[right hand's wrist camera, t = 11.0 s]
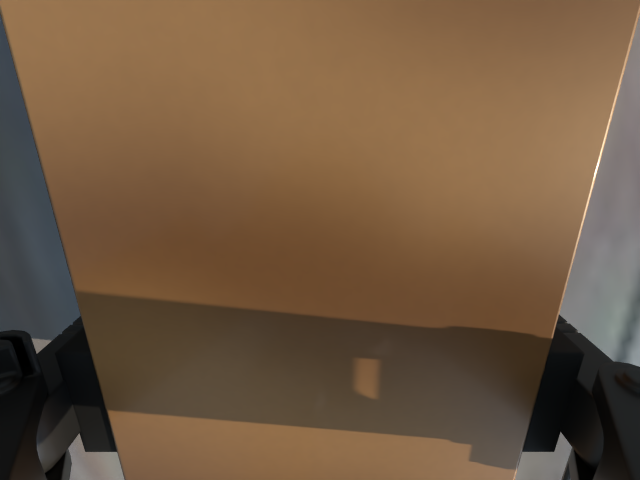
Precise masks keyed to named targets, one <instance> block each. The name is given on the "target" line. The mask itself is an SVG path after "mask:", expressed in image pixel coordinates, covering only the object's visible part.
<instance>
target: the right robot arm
mask: <svg viewBox="0 0 640 480" xmlns="http://www.w3.org/2000/svg"><path fill="white" fill-rule="evenodd" d="M560 431H561V433H562V434H563V435H564V437H565V438H566V439H567V441H568V442H569V443H570V445H571V446H572V450H571V453H570V456H569V459H568V462H567V465H566V468H565V471H564V474H563V477H562V480H640V367H638V366H635V365H632V364H628V363H622V362H613V361H612V360H611V359H610V358H609V357H608V356H606V355H605V354H604V353H603V352H602V351H601V350H600V349H598V348H597V347H596V346H595V345H594V344H593V343H591V342H590V341H589V340H588V339H587V338H586V337H584V336H583V335H582V334H581V333H578V330H576V329H575V328H574V327H573V326H572V325H571V324H567V321H566V320H565V319H564V318H562V317H561V316H560V315H559V316H558V320H557V323H556V327H555V331H554V335H553V338H552V342H551V346H550V350H549V353H548V357H547V361H546V364H545V368H544V372H543V376H542V379H541V383H540V387H539V391H538V394H537V398H536V402H535V405H534V409H533V413H532V417H531V420H530V424H529V428H528V432H527V435H526V439H525V443H524V446H523V450H522V452H554V451H555V447H556V444H557V441H558V438H559V435H560ZM79 433H80V436H81V439H82V442H83V446H84V449H85V452H117V449H116V445H115V441H114V438H113V434H112V430H111V426H110V423H109V419H108V415H107V411H106V408H105V404H104V400H103V396H102V393H101V389H100V385H99V381H98V378H97V374H96V370H95V366H94V363H93V359H92V355H91V351H90V348H89V344H88V340H87V336H86V333H85V329H84V325H83V321H82V318H81V316H80V317H79V318H78V319H77V320H76V321H74V322H73V325H70V326H69V327H68V328H66V329H65V330H64V331H63V332H62V334H59V335H58V336H57V337H56V338H55V339H54V340H53V341H51V342H50V343H49V344H48V345H47V346H46V347H45V348H43V349H42V350H41V351H40V352H39V353H38V354H36V351H35V348H34V345H33V342H32V339H31V336H30V334H28V333H27V332H25V331H18V330H10V331H3V332H0V480H69V479H70V472H71V465H72V462H71V456H70V453H69V450H68V448H69V446H70V445H71V443H72V442H73V441H74V439H75V438H76V437H77V435H78V434H79Z"/></svg>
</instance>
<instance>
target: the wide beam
mask: <svg viewBox="0 0 640 480" xmlns="http://www.w3.org/2000/svg"><path fill="white" fill-rule="evenodd" d="M0 14H1V18H2V21H3V25H4V29H5V33H6V36H7V40H8V44H9V48H10V51H11V55H12V59H13V63H14V66H15V70H16V74H17V78H18V81H19V85H20V89H21V93H22V96H23V100H24V104H25V108H26V111H27V115H28V119H29V123H30V126H31V130H32V134H33V138H34V141H35V145H36V149H37V153H38V156H39V160H40V164H41V168H42V171H43V175H44V179H45V183H46V186H47V190H48V194H49V198H50V201H51V205H52V209H53V213H54V216H55V220H56V224H57V228H58V231H59V235H60V239H61V243H62V246H63V250H64V254H65V258H66V261H67V265H68V269H69V273H70V276H71V280H72V284H73V288H74V291H75V295H76V299H77V303H78V306H79V310H80V314H81V318H82V321H83V325H84V329H85V333H86V336H87V340H88V344H89V348H90V351H91V355H92V359H93V363H94V366H95V370H96V374H97V378H98V381H99V385H100V389H101V393H102V396H103V400H104V404H105V408H106V411H107V415H108V419H109V423H110V426H111V430H112V434H113V438H114V441H115V445H116V449H117V453H118V456H119V460H120V464H121V468H122V471H123V475H124V479H125V480H515V476H516V473H517V469H518V465H519V461H520V458H521V454H522V450H523V446H524V443H525V439H526V435H527V432H528V428H529V424H530V420H531V417H532V413H533V409H534V405H535V402H536V398H537V394H538V391H539V387H540V383H541V379H542V376H543V372H544V368H545V364H546V361H547V357H548V353H549V350H550V346H551V342H552V338H553V335H554V331H555V327H556V323H557V320H558V316H559V312H560V309H561V305H562V301H563V297H564V294H565V290H566V286H567V282H568V279H569V275H570V271H571V268H572V264H573V260H574V256H575V253H576V249H577V245H578V241H579V238H580V234H581V230H582V227H583V223H584V219H585V215H586V212H587V208H588V204H589V200H590V197H591V193H592V189H593V186H594V182H595V178H596V174H597V171H598V167H599V163H600V159H601V156H602V152H603V148H604V145H605V141H606V137H607V133H608V130H609V126H610V122H611V119H612V115H613V111H614V107H615V104H616V100H617V96H618V92H619V89H620V85H621V81H622V78H623V74H624V70H625V66H626V63H627V59H628V55H629V51H630V48H631V44H632V40H633V37H634V33H635V29H636V25H637V22H638V18H639V14H640V0H0Z"/></svg>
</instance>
